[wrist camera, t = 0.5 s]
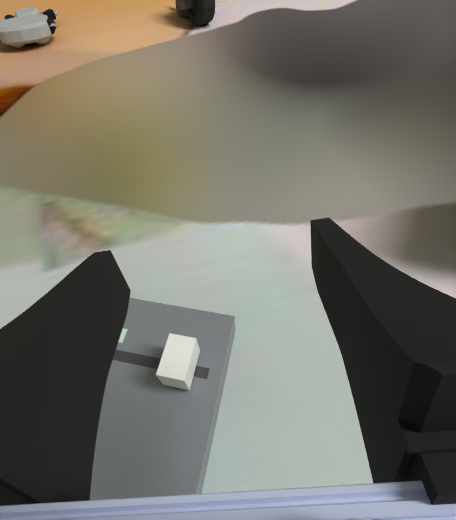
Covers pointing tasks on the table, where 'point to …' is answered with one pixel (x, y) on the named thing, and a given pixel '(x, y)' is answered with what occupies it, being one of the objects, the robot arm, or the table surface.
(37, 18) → the robot toy
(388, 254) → the table surface
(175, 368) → the slider knob
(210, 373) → the control panel
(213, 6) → the caster wheel
